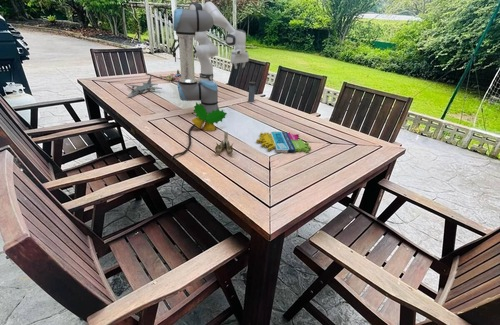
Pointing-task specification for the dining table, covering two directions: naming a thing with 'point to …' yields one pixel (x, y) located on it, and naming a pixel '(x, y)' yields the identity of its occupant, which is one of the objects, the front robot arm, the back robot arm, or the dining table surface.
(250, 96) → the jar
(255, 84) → the lid
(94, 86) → the dining table surface
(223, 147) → the jawbone
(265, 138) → the packaged colorful gloves
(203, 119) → the ornament
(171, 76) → the toy
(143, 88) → the airplane
